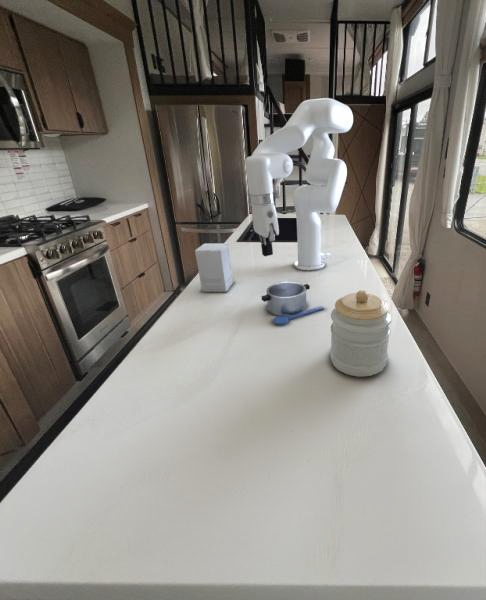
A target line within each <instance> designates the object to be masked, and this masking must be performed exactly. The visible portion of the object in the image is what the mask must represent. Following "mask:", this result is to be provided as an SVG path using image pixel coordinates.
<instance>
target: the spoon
mask: <svg viewBox="0 0 486 600" xmlns="http://www.w3.org/2000/svg"><path fill="white" fill-rule="evenodd" d="M321 311H324V307H323V306H318V307H315V308H311V309H308V310H304V311H303V312H302V313H298V314H295V315H292V316H278V315H277V316H275V317H273V324H274V325H276V326H286V325H287V324H288V323H289V321H292V320H295V319H297V318H301V317H304V316H307V315H311V314H313V313H316V312H321Z"/></svg>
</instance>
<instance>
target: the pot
mask: <svg viewBox="0 0 486 600" xmlns="http://www.w3.org/2000/svg"><path fill="white" fill-rule="evenodd" d="M310 286H311V285H310V284H308V283H306V284H302V283H300V282H294V281H282V282H276V283H273V284H271V285H270V286H268V287H267V288H266V290H265V291H266V294H264V295H261V301H263V302H267V303H266V304H267V311H268V312H269V313H271V314H272V315H274V316H277V317H278V316H286V317H289V316H292V315H295V314H298V313H302V312H305V311H306V309H307V291H308V290H310V288H311V287H310Z"/></svg>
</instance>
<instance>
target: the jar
mask: <svg viewBox="0 0 486 600" xmlns="http://www.w3.org/2000/svg"><path fill="white" fill-rule="evenodd" d="M389 309H390V308H389V305H388V303H387V302H386V301H384V300H383V299H382V298H380V296H377V295H374V294H371V293H368V292H367V290H363V289H361V290H358V291H357V292H352V293H349V294H346V295H344V296H342V297H339V299H337V300H336V302H335V304H334V307H333V309H332V311H331V312H330V318H331V321H332V322H331V325H330V332H331V334H330V335H331V339H330V340H331V341H330V344H331V345H330V349H329V350H330V351H329V352H330V353H329V355H330V359H331V363H332V365H333V366H334V368H335V369H336V370H338V371H339V372H341V373H343V374H346V375H349V376H353V377H370V376H374V375H376V374H379V373H380V372H382V371H383V370H384V368H385V367H386V364H387V361H388V355H389V352H388V347H389V339H390V336H391V329H390V327H389V326H390V324H391V323H392V320H393V317H392V315H391V313H390V312H389V311H390V310H389Z"/></svg>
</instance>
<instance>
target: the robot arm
mask: <svg viewBox="0 0 486 600" xmlns="http://www.w3.org/2000/svg"><path fill="white" fill-rule="evenodd" d="M353 123H354V115H353V112H352V109H351V108H350V107H349V106H348V105H347V104H345V103H343V102H340V101H338V100H336V99H333V98H330V97H326V98H325V97H323V98H315V99H306V100H304V101H302V102H300V104H299V105H298V106H297V107H296V109H295V111H294V112H293V113H292V115H291V116H290V117H289V119H288V121H287V122H286V123H285V124H284V126H283V127H280V128H279V129H278V130H276V131H274V132H273V133H272V134H270V135H269V136H267V137H266V138H264V139H263V140H262V141H261V142H259V144H258V145H257V147H256V148H255V149H254V151H253V152H252V154H251V155H250V156H247V157H246V158H245V161H244V165H245V174H246V180H247V188H248V189H247V191H248V196H249V206H250V207H251V218H252V219H251V220H252V227H253V231H254V232H255V233H256V234H257V235H258V237H259V242H260V246H261V254H262V256H263V257H269V256H273V255H274V250H273V242H275V241H276V237H275V236H279V235H280V229H279V228H280V227H279V220H278V215H277V210H276V209H277V208H276V206H275V194H274V184H273V180H278V179H279V180H283V179H286V178H288V177H289V176H290V175H291V174H292V172H293V169H294V162H293V159H292V158H291V157H290V155H288V153H291V152H294V151H296V150H298V149H299V150H300V148H302V147H303V146H305V144H306V143H307V141H308V140H309V138H310V136H311V139H312V149H311V153H310V155H309V158H308V161H307V165H306V168H305V172H304V173H305V174H304V178H305V180H306V182H307V183H308V184H304V185H303V184H302V185H300V186H299V185H298V187H297V188H295V190H294V191H293V194H292V195H293V196H292V199H293V206H294V210H295V217H296V219H295V220H296V239H297V240H296V241H297V242H296V243H297V260H295V261H294V264H293V265H294V268H296V269H297V270H301V271H317V270H320V269H323V268H324V267H325V264H326V263H325V261H324V260H326V259H331V257H332V256H331V253H329V252H328V253H324V252H322V221H321V218H320V216H319V214H331V213H334V212H335V211H336V210H337V208H338V206H339V203H340V202H341V201H340V200H341V197H342V194H343V191H344V187H345V184H346V181H347V175H348V168H347V165H346V163H345V161H344V160H343V159H340V158H334V155H335V145H334V144H333V142H332V140H331V138H330V137H329V135H328V134H343V133H347V132H349V131H350V130H351V129H352V126H353V125H354V124H353ZM318 213H319V214H318Z"/></svg>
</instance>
